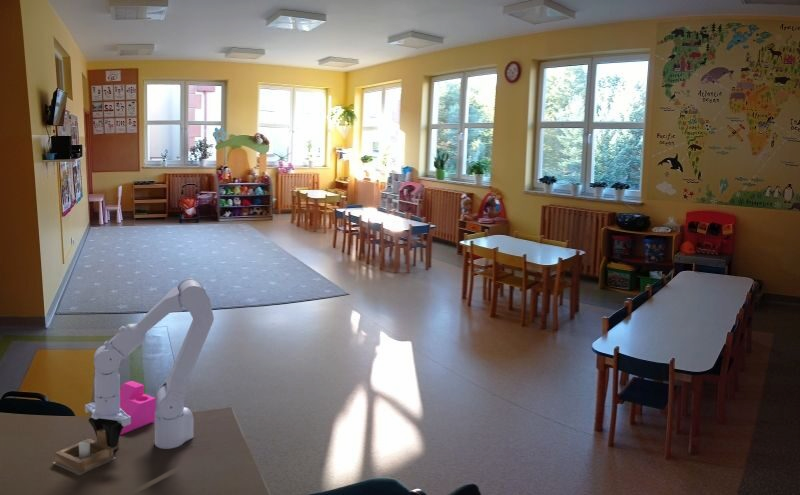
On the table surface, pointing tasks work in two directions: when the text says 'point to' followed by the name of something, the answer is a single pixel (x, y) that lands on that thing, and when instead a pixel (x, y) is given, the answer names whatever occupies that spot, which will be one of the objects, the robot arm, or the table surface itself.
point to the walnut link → (100, 455)
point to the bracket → (136, 405)
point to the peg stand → (83, 456)
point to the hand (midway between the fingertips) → (108, 445)
